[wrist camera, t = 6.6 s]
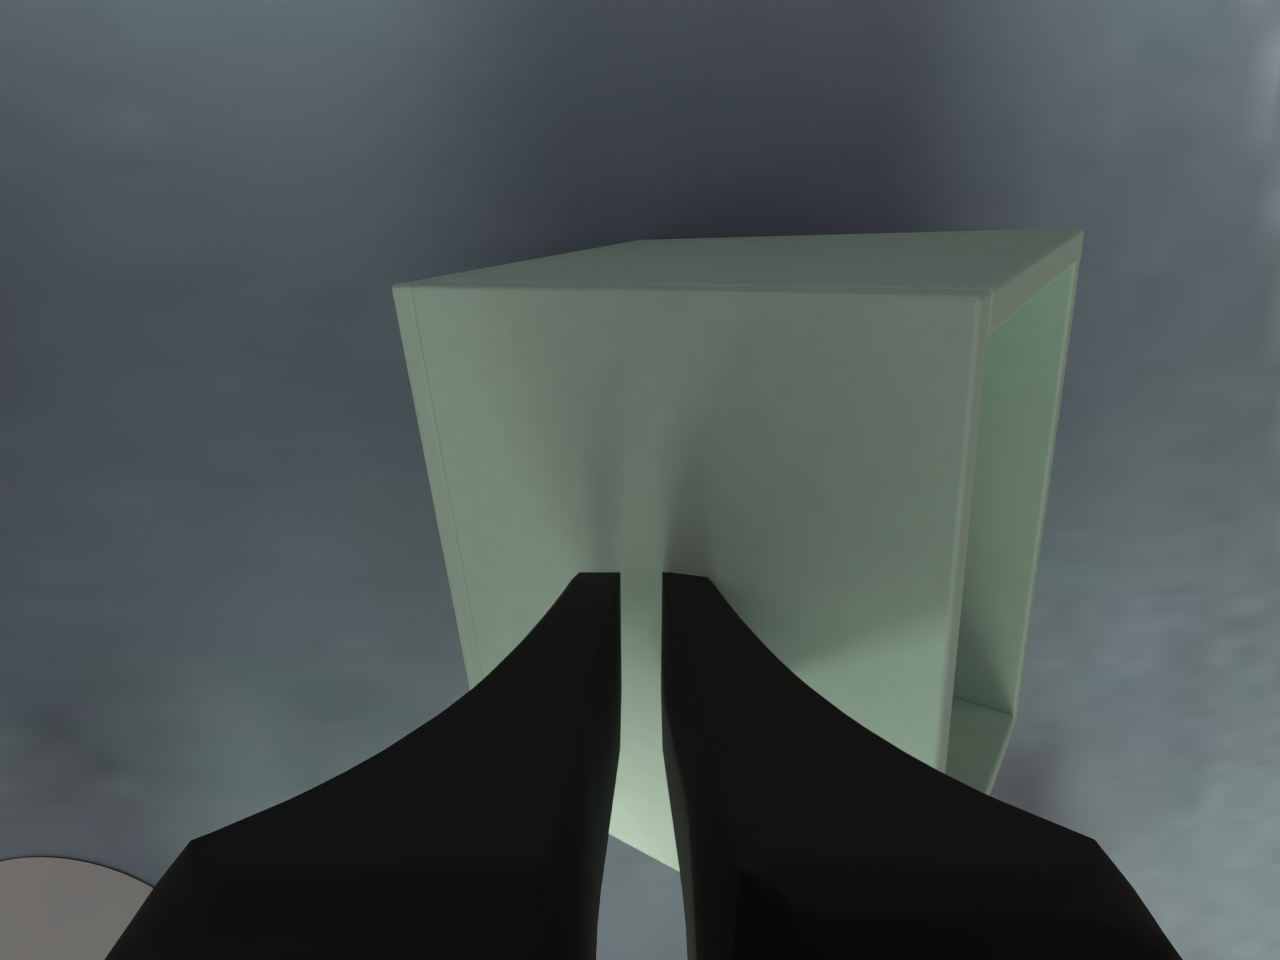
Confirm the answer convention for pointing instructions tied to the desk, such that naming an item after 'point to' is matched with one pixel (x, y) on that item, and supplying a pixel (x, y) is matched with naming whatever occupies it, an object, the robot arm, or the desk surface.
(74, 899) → the cylinder container
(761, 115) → the desk surface
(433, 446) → the bin
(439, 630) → the desk surface
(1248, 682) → the desk surface
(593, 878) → the robot arm
